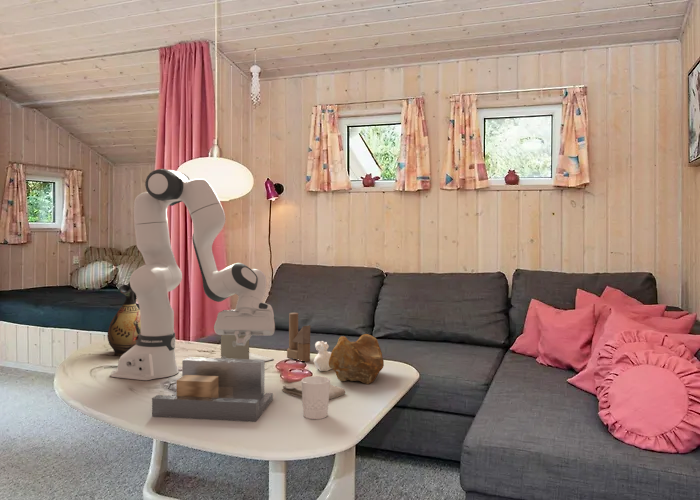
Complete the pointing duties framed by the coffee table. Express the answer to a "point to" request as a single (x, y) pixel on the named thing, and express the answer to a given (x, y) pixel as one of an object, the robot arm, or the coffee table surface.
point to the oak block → (198, 386)
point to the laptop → (238, 349)
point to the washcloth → (296, 390)
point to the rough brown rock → (357, 359)
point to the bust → (322, 356)
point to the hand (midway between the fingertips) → (240, 344)
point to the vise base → (209, 407)
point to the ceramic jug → (125, 323)
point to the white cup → (315, 396)
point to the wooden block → (298, 340)
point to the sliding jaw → (230, 375)
